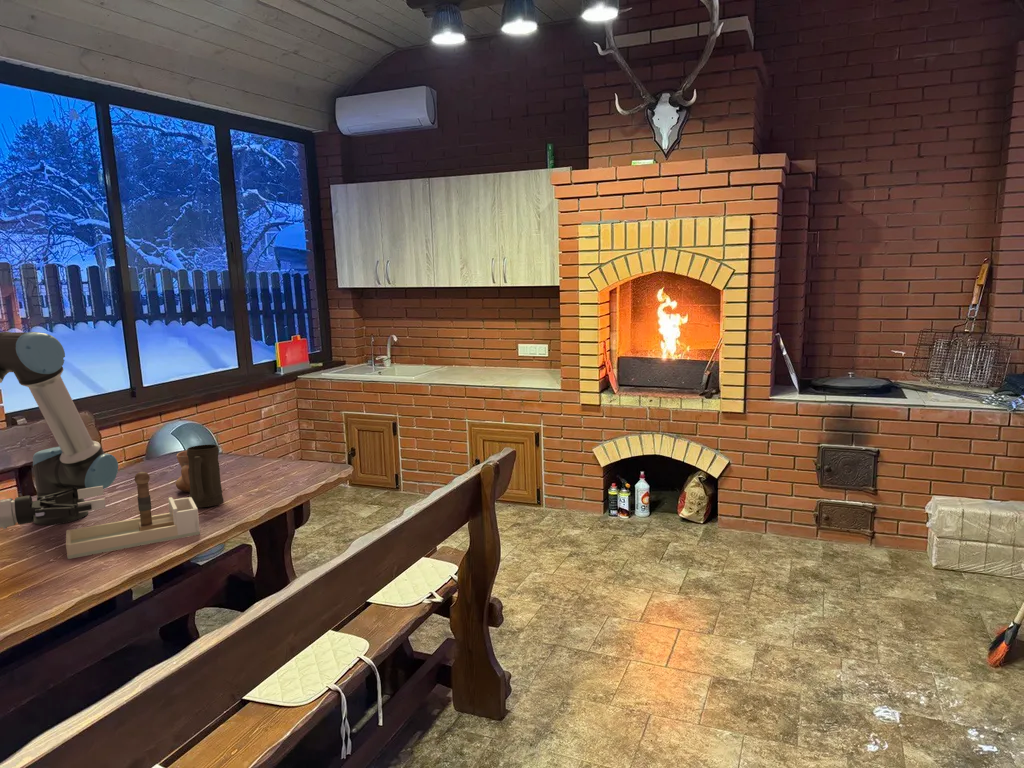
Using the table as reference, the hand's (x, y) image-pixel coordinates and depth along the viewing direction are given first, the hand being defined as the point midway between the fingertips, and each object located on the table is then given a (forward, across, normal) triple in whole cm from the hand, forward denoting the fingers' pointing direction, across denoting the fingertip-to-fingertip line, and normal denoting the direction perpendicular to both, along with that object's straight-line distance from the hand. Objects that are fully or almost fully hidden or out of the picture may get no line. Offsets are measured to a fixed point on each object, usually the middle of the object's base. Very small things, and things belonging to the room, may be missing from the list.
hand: (104, 496), depth 206 cm
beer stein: (+29, -21, -16) cm, 39 cm away
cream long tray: (+6, 0, -14) cm, 16 cm away
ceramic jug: (+29, -42, -16) cm, 54 cm away
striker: (+13, 0, -13) cm, 19 cm away
